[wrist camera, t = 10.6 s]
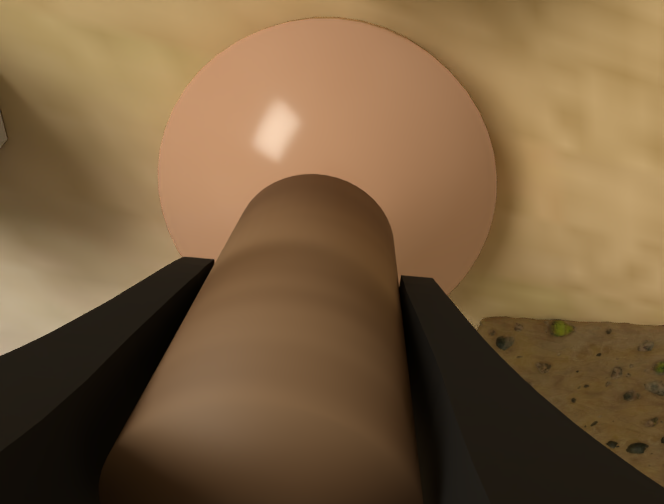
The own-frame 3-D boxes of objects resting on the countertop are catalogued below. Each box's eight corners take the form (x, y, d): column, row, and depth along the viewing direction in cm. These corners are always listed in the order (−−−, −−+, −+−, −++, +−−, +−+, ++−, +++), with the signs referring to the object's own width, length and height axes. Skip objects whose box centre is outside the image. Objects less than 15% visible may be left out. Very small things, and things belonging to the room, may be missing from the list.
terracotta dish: (455, 329, 18) (461, 350, 17) (184, 306, 18) (173, 325, 17) (523, 30, 13) (537, 33, 12) (155, 3, 13) (137, 5, 12)
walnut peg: (397, 310, 12) (428, 612, 6) (252, 318, 12) (150, 609, 6) (390, 166, 10) (420, 395, 4) (221, 181, 11) (48, 406, 5)
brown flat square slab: (696, 532, 23) (708, 553, 22) (436, 514, 24) (438, 533, 23) (820, 325, 17) (843, 342, 17) (475, 307, 18) (480, 323, 17)
